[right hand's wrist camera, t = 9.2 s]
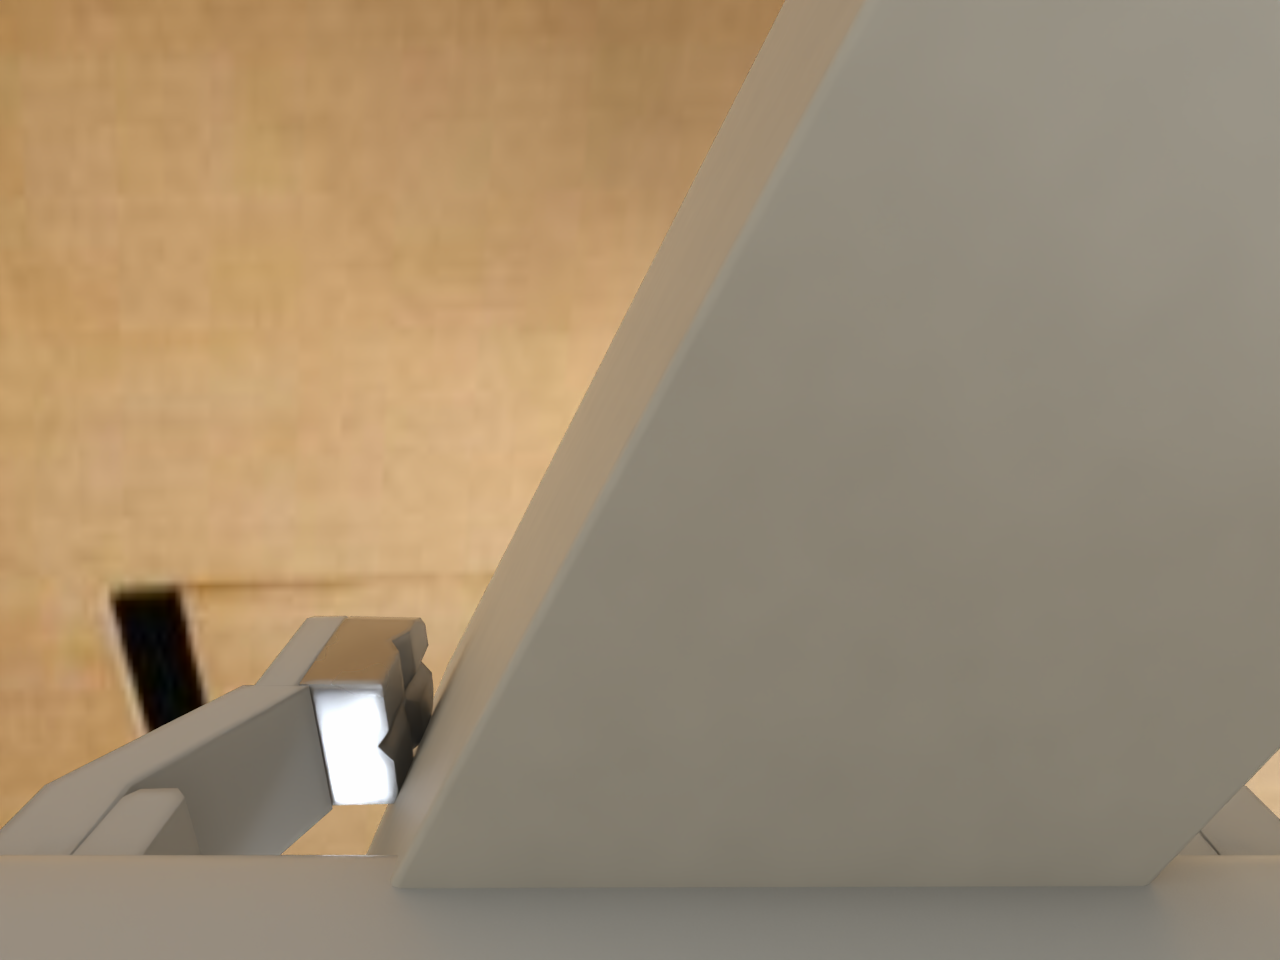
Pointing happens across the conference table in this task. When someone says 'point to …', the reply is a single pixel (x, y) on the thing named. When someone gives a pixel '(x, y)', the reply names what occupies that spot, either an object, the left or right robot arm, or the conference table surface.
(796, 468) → the bar
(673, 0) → the conference table surface
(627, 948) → the right robot arm
